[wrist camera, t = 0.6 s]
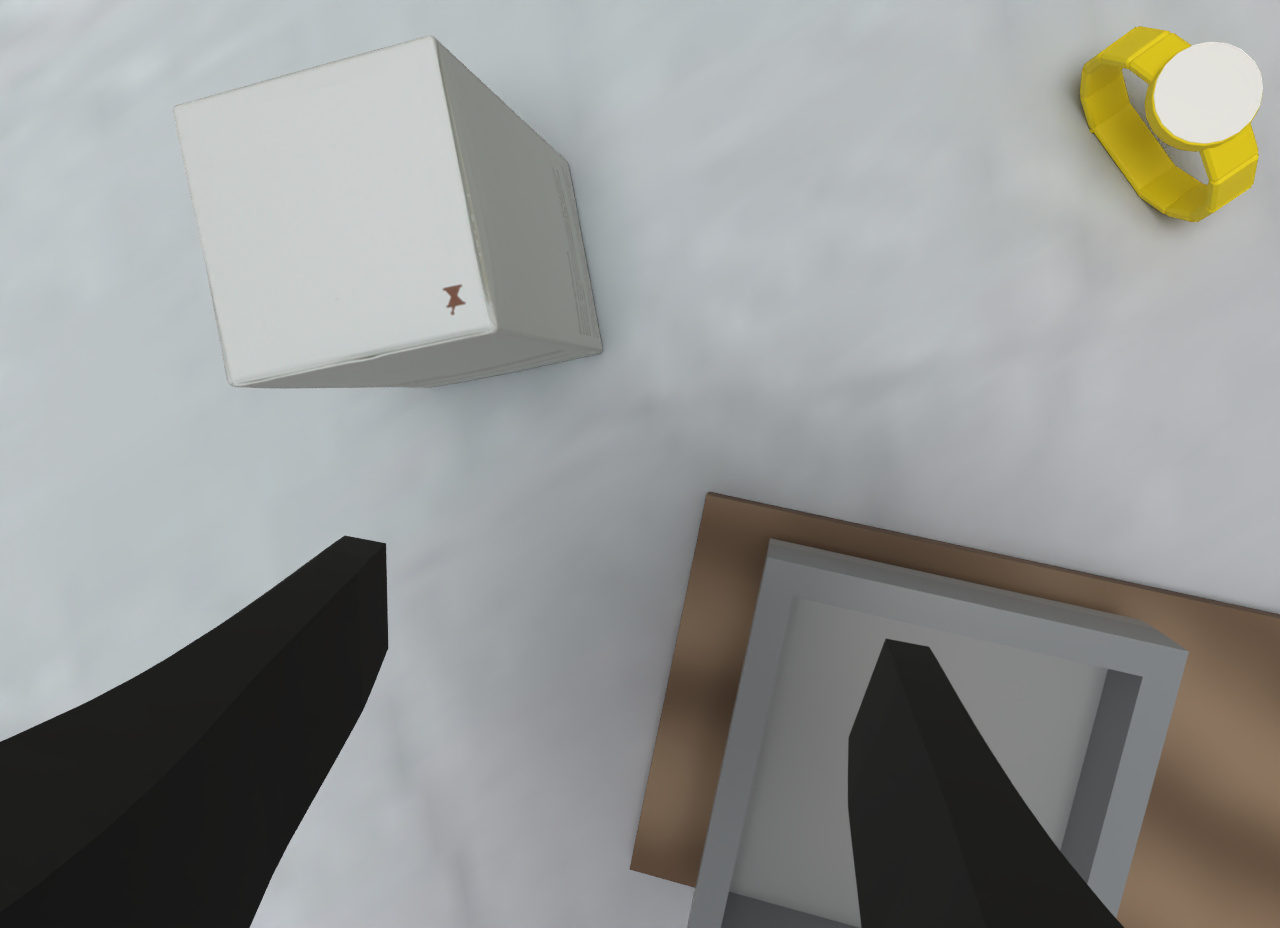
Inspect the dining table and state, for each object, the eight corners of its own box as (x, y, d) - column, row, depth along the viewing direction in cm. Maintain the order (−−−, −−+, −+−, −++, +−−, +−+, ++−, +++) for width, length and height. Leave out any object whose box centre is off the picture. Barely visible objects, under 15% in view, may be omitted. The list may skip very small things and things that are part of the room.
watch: (1043, 110, 31) (1091, 34, 26) (1116, 57, 31) (1182, -32, 25) (1151, 251, 31) (1226, 207, 25) (1227, 199, 30) (1322, 142, 24)
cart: (1032, 963, 32) (1075, 1067, 27) (697, 871, 34) (682, 953, 29) (1125, 609, 31) (1189, 651, 26) (770, 531, 33) (767, 557, 28)
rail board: (1518, 1099, 31) (1594, 1174, 28) (634, 856, 36) (619, 898, 33) (1654, 695, 30) (1749, 729, 27) (709, 491, 34) (700, 501, 31)
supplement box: (571, 156, 34) (443, 23, 21) (607, 356, 34) (501, 340, 22) (385, 198, 35) (162, 97, 23) (421, 391, 35) (222, 394, 23)
